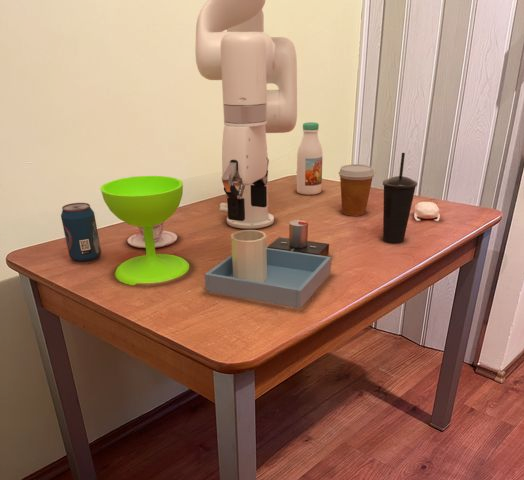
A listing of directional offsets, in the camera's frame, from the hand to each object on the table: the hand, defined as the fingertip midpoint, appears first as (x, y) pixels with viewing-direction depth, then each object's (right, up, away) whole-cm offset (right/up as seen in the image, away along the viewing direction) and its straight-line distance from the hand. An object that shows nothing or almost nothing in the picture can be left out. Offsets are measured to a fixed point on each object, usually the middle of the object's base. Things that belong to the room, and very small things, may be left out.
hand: (248, 212), depth 102 cm
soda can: (-37, -6, +20) cm, 42 cm away
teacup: (-24, +1, +30) cm, 38 cm away
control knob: (+11, -3, +16) cm, 20 cm away
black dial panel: (+11, -6, +18) cm, 22 cm away
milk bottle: (+17, +23, +66) cm, 72 cm away
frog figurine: (+46, +9, +42) cm, 63 cm away
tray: (+4, -13, +6) cm, 15 cm away
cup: (0, -11, +7) cm, 14 cm away
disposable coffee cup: (+28, +12, +47) cm, 56 cm away
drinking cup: (+34, 0, +27) cm, 44 cm away
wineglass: (-21, -9, +13) cm, 26 cm away
